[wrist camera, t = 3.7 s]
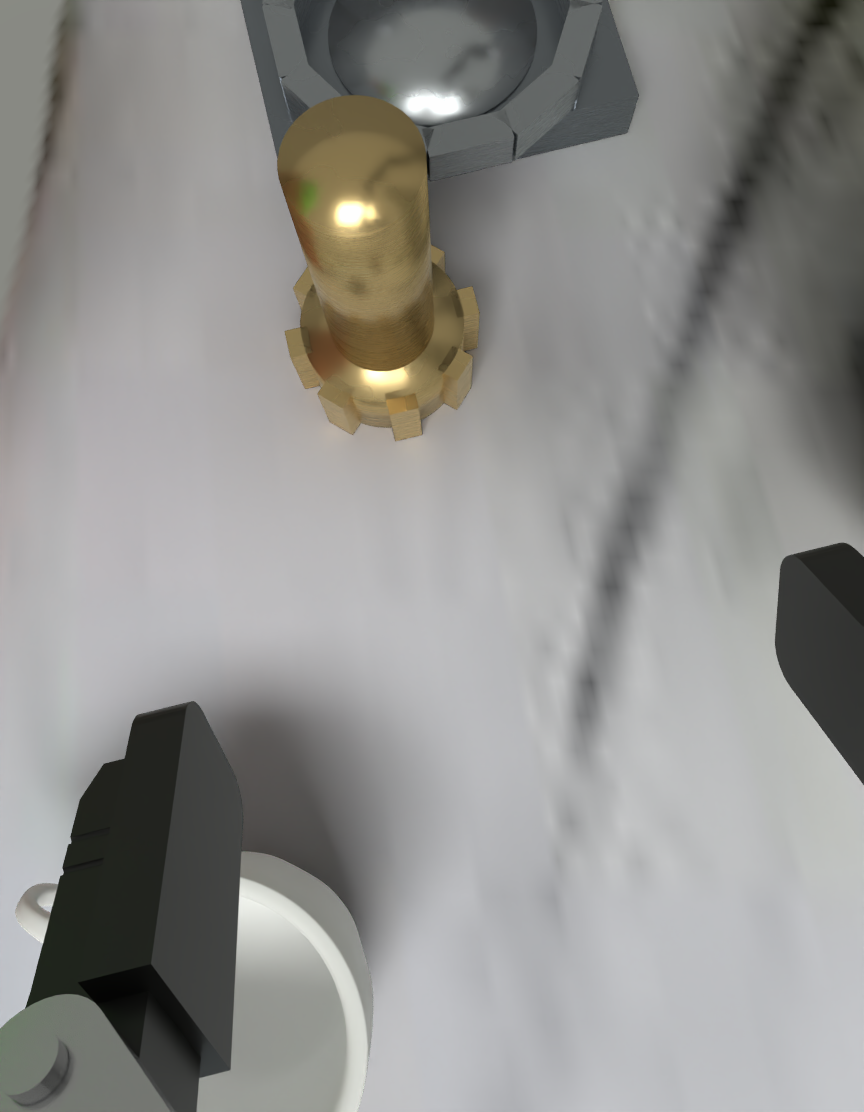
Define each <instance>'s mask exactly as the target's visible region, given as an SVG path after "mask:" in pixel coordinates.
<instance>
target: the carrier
mask: <svg viewBox="0 0 864 1112" xmlns="http://www.w3.org/2000/svg"><path fill="white" fill-rule="evenodd" d="M241 5H242V9H243V13H244V18H245V22H246V26H247V30H248V35H249V39H250V43H251V47H252V52H253V56H254V60H255V65H256V69H257V73H258V77H259V82H260V86H261V90H262V94H263V99H264V103H265V107H266V112H267V116H268V120H269V124H270V129H271V133H272V137H273V141H274V146H275V150H276V154H277V158H278V153H279V149H280V146H281V143H282V140H283V138H284V136H285V134H286V132H287V131H288V129H289V128H290V126H291V125H292V124H293V123H294V121H295V120H296V119H297V118H298V117H299V116H300V115H302V114H303V113H304V112H305V111H307V110H308V109H309V108H311V107H313V106H315V105H316V104H318V103H321V102H323V101H325V100H328V99H332V98H335V97H340V96H348V95H361V96H369V97H374V98H377V99H381V100H384V101H386V102H388V103H390V104H392V105H394V106H395V107H397V108H399V109H400V110H401V111H402V112H404V113H405V114H406V115H407V116H408V117H409V118H410V119H411V120H412V121H413V123H414V124H415V125H416V127H417V128H418V130H419V132H420V134H421V136H422V139H423V142H424V144H425V150H426V161H427V180H430V181H435V180H439V179H443V178H447V177H451V176H456V175H460V174H464V173H468V172H473V171H477V170H481V169H485V168H489V167H494V166H498V165H502V164H506V163H511V162H512V160H516V159H519V158H524V157H528V156H532V155H536V154H540V153H545V152H549V151H553V150H557V149H562V148H566V147H570V146H574V145H578V144H583V143H587V142H591V141H595V140H600V139H604V138H608V137H612V136H616V135H621V134H625V133H627V132H628V129H629V126H630V122H631V119H632V116H633V113H634V109H635V106H636V103H637V99H638V96H639V94H638V91H637V88H636V85H635V82H634V79H633V76H632V73H631V70H630V67H629V64H628V61H627V58H626V55H625V52H624V49H623V46H622V43H621V40H620V37H619V34H618V31H617V28H616V25H615V22H614V18H613V15H612V12H611V9H610V6H609V3H608V0H241Z"/></svg>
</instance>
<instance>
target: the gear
mask: <svg viewBox="0 0 864 1112" xmlns="http://www.w3.org/2000/svg"><path fill="white" fill-rule="evenodd" d="M277 167H278V176H279V180H280V184H281V187H282V190H283V193H284V196H285V199H286V202H287V205H288V208H289V211H290V214H291V217H292V220H293V223H294V226H295V229H296V232H297V235H298V238H299V241H300V244H301V247H302V250H303V253H304V256H305V259H306V262H307V265H308V267H307V268H306V270H305V271H304V273H303V274H302V276H301V277H300V279H299V280H298V282H297V283H296V285H295V286H294V288H293V289H294V292H295V295H296V297H297V300H298V302H299V305H300V307H301V310H302V311H301V319H300V328H296V329H291V330H287V331H285V335H286V340H287V344H288V349H289V353H290V358H291V360H292V362H293V364H294V366H295V368H296V370H297V373H298V375H299V377H300V379H301V381H302V383H303V385H304V387H305V389H308V388H312V387H317V386H320V387H321V389H320V391H319V392H318V396H319V399H320V401H321V403H322V405H323V408H324V410H325V412H326V414H327V417H328V419H329V421H330V422H331V423H332V424H334V425H336V426H338V427H339V428H341V429H343V430H344V431H346V432H348V433H350V434H351V435H353V434H354V433H355V431H356V430H357V428H358V427H359V425H360V423H362V424H365V425H369V426H374V427H384V428H389V427H392V429H393V433H394V437H395V441H399V440H403V439H407V438H411V437H416V436H420V435H422V429H421V421H420V420H422V419H424V418H426V417H427V416H429V415H430V414H432V413H433V412H435V411H436V410H437V409H438V408H440V407H441V406H442V405H443V404H444V403H445V404H447V405H449V406H451V407H452V408H454V409H456V410H457V409H458V408H459V406H460V405H461V403H462V401H463V400H464V398H465V397H466V395H467V393H468V392H469V390H470V389H471V379H472V362H473V356H471V355H469V354H467V353H466V352H464V351H466V350H470V349H475V348H477V343H478V329H479V314H480V312H479V309H478V305H477V301H476V298H475V294H474V291H473V287H472V286H471V287H467V288H463V289H459V290H456V288H455V286H454V284H453V283H452V281H451V280H450V278H449V277H448V276H447V275H446V274H445V252H444V251H442V250H440V249H438V248H436V247H434V246H433V245H431V242H430V221H429V201H428V181H427V161H426V150H425V144H424V142H423V139H422V136H421V134H420V132H419V130H418V128H417V127H416V125H415V124H414V123H413V121H412V120H411V119H410V118H409V117H408V116H407V115H406V114H405V113H404V112H402V111H401V110H400V109H399V108H397V107H395V106H394V105H392V104H390V103H388V102H386V101H384V100H381V99H377V98H374V97H369V96H361V95H348V96H340V97H335V98H332V99H328V100H325V101H323V102H321V103H318V104H316V105H315V106H313V107H311V108H309V109H308V110H307V111H305V112H304V113H303V114H302V115H300V116H299V117H298V118H297V119H296V120H295V121H294V123H293V124H292V125H291V126H290V128H289V129H288V131H287V132H286V134H285V136H284V138H283V140H282V143H281V146H280V149H279V153H278V161H277Z"/></svg>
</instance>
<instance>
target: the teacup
mask: <svg viewBox="0 0 864 1112" xmlns="http://www.w3.org/2000/svg"><path fill="white" fill-rule="evenodd" d="M57 887H58V884H51V883H42V884H37V885H35V886H32V887H31V888H29V889H28V890H27V891H26V892H25V893H24V894H23V896H22V897H21V899H20V901H19V903H18V905H17V908H16V912H15V913H16V918H17V920H18V922H19V924H20V925H21V926H22V928H23V929H24V930H25V931H26V932H28V933H29V934H30V935H31V936H32V937H34V938H35V939H36V940H38V941H39V942H41V943H42V944H43V942H44V938H45V934H46V930H47V926H48V922H49V918H50V914H51V913H50V912H48V911H46V910H44V909H43V908H42V907H41V906H53V903H54V899H55V895H56V891H57ZM372 1026H373V988H372V981H371V976H370V972H369V968H368V965H367V961H366V958H365V954H364V951H363V947H362V944H361V940H360V937H359V934H358V930H357V927H356V925H355V922H354V920H353V918H352V916H351V914H350V912H349V911H348V909H347V908H346V906H345V905H344V903H343V902H342V901H341V899H340V898H339V897H338V896H337V895H336V894H335V893H334V891H333V890H331V889H330V888H329V887H328V886H327V885H326V884H325V883H323V882H322V881H320V880H319V879H317V878H316V877H314V876H313V875H311V874H309V873H307V872H306V871H304V870H302V869H300V868H298V867H297V866H295V865H293V864H291V863H289V862H287V861H285V860H282V859H280V858H278V857H275V856H272V855H268V854H264V853H258V852H247V851H241V869H240V890H239V910H238V930H237V950H236V970H235V990H234V1011H233V1031H232V1051H231V1070H229V1071H225V1072H222V1073H218V1074H214V1075H210V1076H206V1077H202V1078H199V1087H198V1100H197V1112H358V1109H359V1106H360V1102H361V1099H362V1095H363V1090H364V1085H365V1080H366V1074H367V1068H368V1061H369V1055H370V1047H371V1038H372Z"/></svg>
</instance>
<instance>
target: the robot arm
mask: <svg viewBox="0 0 864 1112" xmlns="http://www.w3.org/2000/svg"><path fill="white" fill-rule="evenodd" d="M775 648H776V654H777V658H778V662H779V665H780V668H781V670H782V673H783V675H784V677H785V679H786V681H787V682H788V684H789V685H790V687H791V688H792V690H793V691H794V692H795V694H796V695H797V696H798V698H799V699H800V700H801V702H802V703H803V704H804V706H805V707H806V708H807V710H808V711H809V712H810V714H811V715H812V716H813V718H814V719H815V720H816V722H817V723H818V724H819V726H820V727H821V728H822V730H823V731H824V732H825V734H826V735H827V736H828V738H829V739H830V740H831V742H832V743H833V744H834V746H835V747H836V748H837V750H838V751H839V752H840V754H841V755H842V756H843V758H844V759H845V761H846V762H847V763H848V765H849V766H850V767H851V769H852V770H853V771H854V773H855V774H856V775H857V777H858V778H859V779H860V781H861V782H862V783H863V785H864V557H863V556H862V555H861V554H860V553H859V552H858V551H857V550H856V549H854V548H853V547H852V546H850V545H849V544H846V543H837V544H833V545H829V546H825V547H821V548H817V549H813V550H809V551H805V552H801V553H797V554H793V555H789V556H787V557H785V558H784V559H783V561H782V564H781V568H780V579H779V593H778V607H777V620H776V634H775ZM242 829H243V810H242V802H241V796H240V791H239V787H238V784H237V780H236V778H235V775H234V773H233V771H232V769H231V767H230V765H229V763H228V761H227V759H226V757H225V755H224V753H223V751H222V749H221V747H220V745H219V743H218V741H217V739H216V737H215V735H214V733H213V731H212V729H211V727H210V725H209V723H208V721H207V719H206V717H205V715H204V713H203V711H202V710H201V708H200V706H199V705H198V704H197V703H196V702H194V701H191V702H187V703H183V704H179V705H175V706H171V707H167V708H163V709H159V710H155V711H151V712H147V713H143V714H139V715H137V716H136V717H135V719H134V721H133V723H132V727H131V732H130V736H129V741H128V746H127V751H126V755H125V759H122V760H118V761H114V762H109V763H105V764H103V766H102V767H101V769H100V770H99V772H98V773H97V775H96V776H95V778H94V779H93V781H92V782H91V784H90V785H89V787H88V788H87V790H86V791H85V793H84V794H83V796H82V797H81V799H80V801H79V805H78V809H77V813H76V817H75V821H74V825H73V829H72V833H71V836H70V837H71V841H72V842H71V844H68V848H67V852H66V856H65V860H64V864H63V871H64V874H63V875H62V876H60V879H59V883H58V887H57V891H56V895H55V899H54V903H53V907H52V910H51V914H50V918H49V922H48V926H47V930H46V934H45V938H44V942H43V946H42V949H41V953H40V957H39V961H38V965H37V969H36V973H35V977H34V981H33V985H32V988H31V992H30V995H29V999H28V1002H27V1005H26V1007H25V1009H24V1010H22V1011H20V1012H19V1013H18V1014H17V1015H15V1016H14V1017H13V1018H11V1019H10V1020H9V1021H8V1022H7V1023H6V1024H5V1025H4V1026H3V1027H2V1028H0V1112H197V1100H198V1087H199V1078H202V1077H206V1076H210V1075H214V1074H218V1073H222V1072H225V1071H229V1070H231V1051H232V1031H233V1011H234V990H235V970H236V950H237V930H238V910H239V890H240V869H241V849H242Z"/></svg>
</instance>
